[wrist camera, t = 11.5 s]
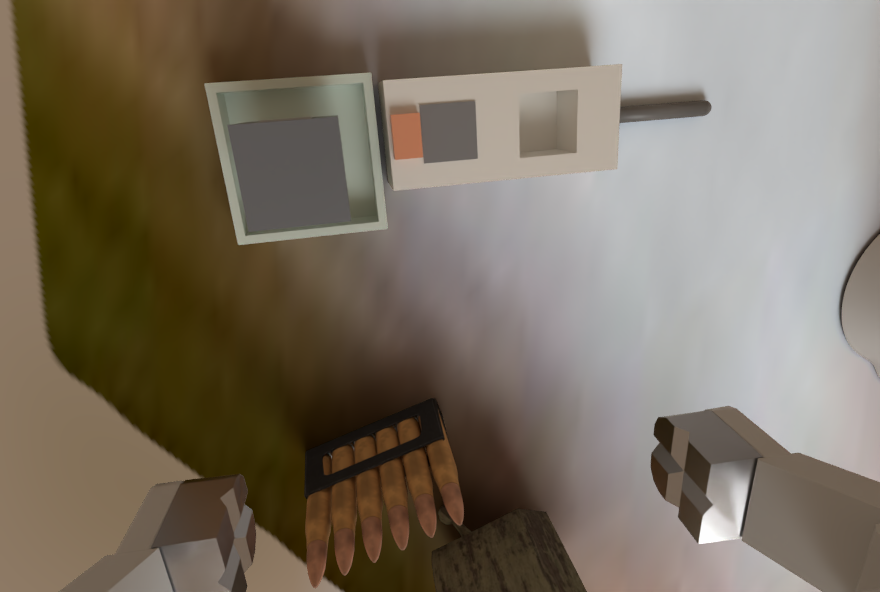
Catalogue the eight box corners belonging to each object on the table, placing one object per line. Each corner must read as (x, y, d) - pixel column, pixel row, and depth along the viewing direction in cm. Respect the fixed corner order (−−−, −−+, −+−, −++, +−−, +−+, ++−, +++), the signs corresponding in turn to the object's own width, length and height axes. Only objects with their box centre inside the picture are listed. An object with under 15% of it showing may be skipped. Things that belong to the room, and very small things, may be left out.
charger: (337, 113, 32) (337, 115, 24) (348, 193, 34) (351, 221, 25) (256, 119, 31) (226, 123, 23) (271, 200, 33) (248, 232, 25)
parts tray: (368, 75, 32) (371, 72, 30) (384, 220, 35) (387, 228, 33) (215, 85, 31) (204, 83, 28) (245, 234, 34) (238, 245, 32)
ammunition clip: (434, 396, 41) (470, 506, 29) (442, 415, 41) (480, 529, 30) (305, 451, 40) (291, 583, 29) (315, 469, 41) (306, 604, 30)
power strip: (709, 60, 36) (760, 54, 31) (700, 152, 38) (746, 157, 33) (377, 83, 32) (383, 79, 28) (387, 181, 34) (394, 192, 30)
